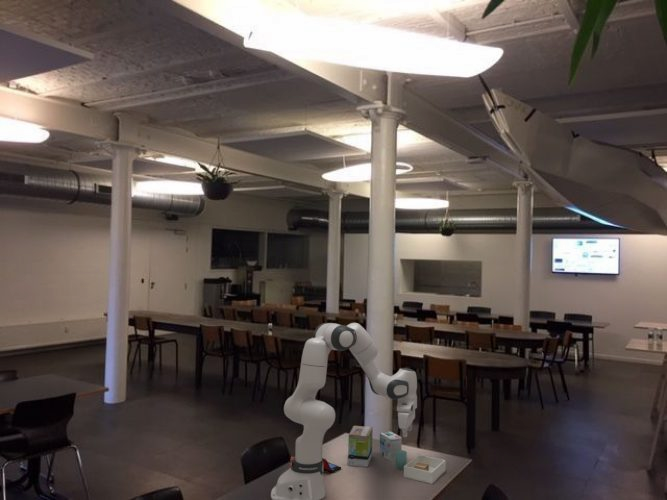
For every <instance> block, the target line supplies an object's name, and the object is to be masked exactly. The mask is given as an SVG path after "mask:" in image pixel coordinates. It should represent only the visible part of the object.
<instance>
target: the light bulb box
mask: <svg viewBox="0 0 667 500" xmlns="http://www.w3.org/2000/svg"><path fill="white" fill-rule="evenodd" d="M402 437H403V436H400V435H398V434H397V433H394V431H393V432H392V431H385V432H380V433H379V455H380V456H382V457H383V458H385V459H386V460H388V461H389V462H394V461H395V462H396V451H398V450H403V449H402V447H403V445H402V443H403V440H402V439H403V438H402Z"/></svg>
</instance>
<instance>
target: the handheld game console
mask: <svg viewBox="0 0 667 500" xmlns="http://www.w3.org/2000/svg"><path fill="white" fill-rule="evenodd" d="M341 470H342V466H339V465H337V464H335V463H331V462H328V460H327V459H326V458H323V472H326V473H329V474H333V473H336V472H339V471H341Z"/></svg>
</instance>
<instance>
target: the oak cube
mask: <svg viewBox="0 0 667 500" xmlns="http://www.w3.org/2000/svg"><path fill="white" fill-rule="evenodd" d="M414 468H416V469H421V470H425V471H429V464H426V463H422V462H418V463H416V464H415V465H414Z"/></svg>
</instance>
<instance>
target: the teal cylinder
mask: <svg viewBox="0 0 667 500" xmlns="http://www.w3.org/2000/svg"><path fill="white" fill-rule="evenodd" d="M407 456H408V454H407V451H406V450H403V449H402V450H398V451H396V460H395V468H396V469H397V470H404V466H405V465H406V464H407V463H408V462H407V461H408V460H407V459H408V457H407Z"/></svg>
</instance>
